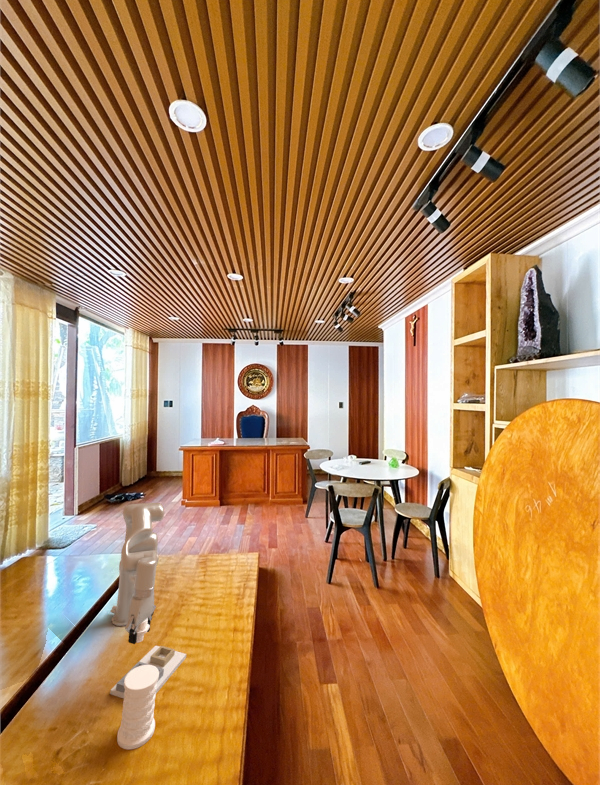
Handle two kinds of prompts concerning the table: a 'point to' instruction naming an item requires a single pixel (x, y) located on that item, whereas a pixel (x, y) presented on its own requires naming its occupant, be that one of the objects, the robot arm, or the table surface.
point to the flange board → (161, 659)
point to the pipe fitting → (141, 630)
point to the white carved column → (138, 707)
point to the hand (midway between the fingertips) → (139, 636)
